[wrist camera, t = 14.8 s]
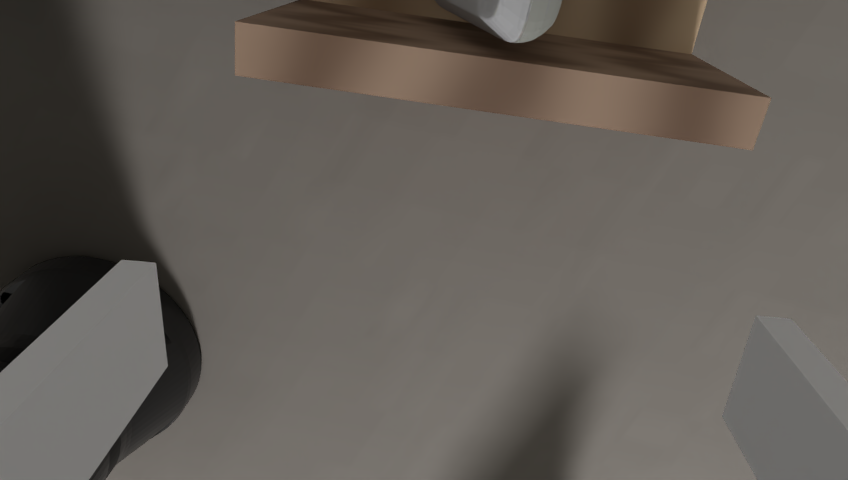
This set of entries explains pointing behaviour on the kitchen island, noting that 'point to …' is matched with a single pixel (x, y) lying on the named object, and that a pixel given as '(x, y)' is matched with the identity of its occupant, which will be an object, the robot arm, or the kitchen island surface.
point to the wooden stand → (514, 64)
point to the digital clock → (507, 16)
